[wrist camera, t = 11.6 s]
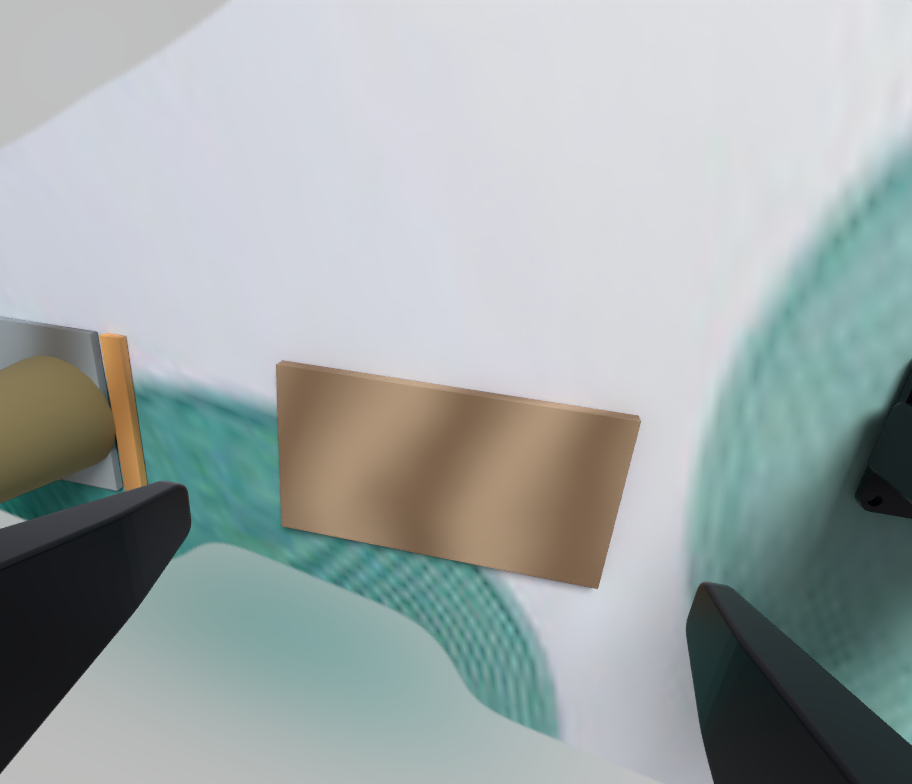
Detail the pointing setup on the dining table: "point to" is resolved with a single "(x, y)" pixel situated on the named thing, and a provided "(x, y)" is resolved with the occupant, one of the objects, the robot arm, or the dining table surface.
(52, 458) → the cork
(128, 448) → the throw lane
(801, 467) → the dining table surface
